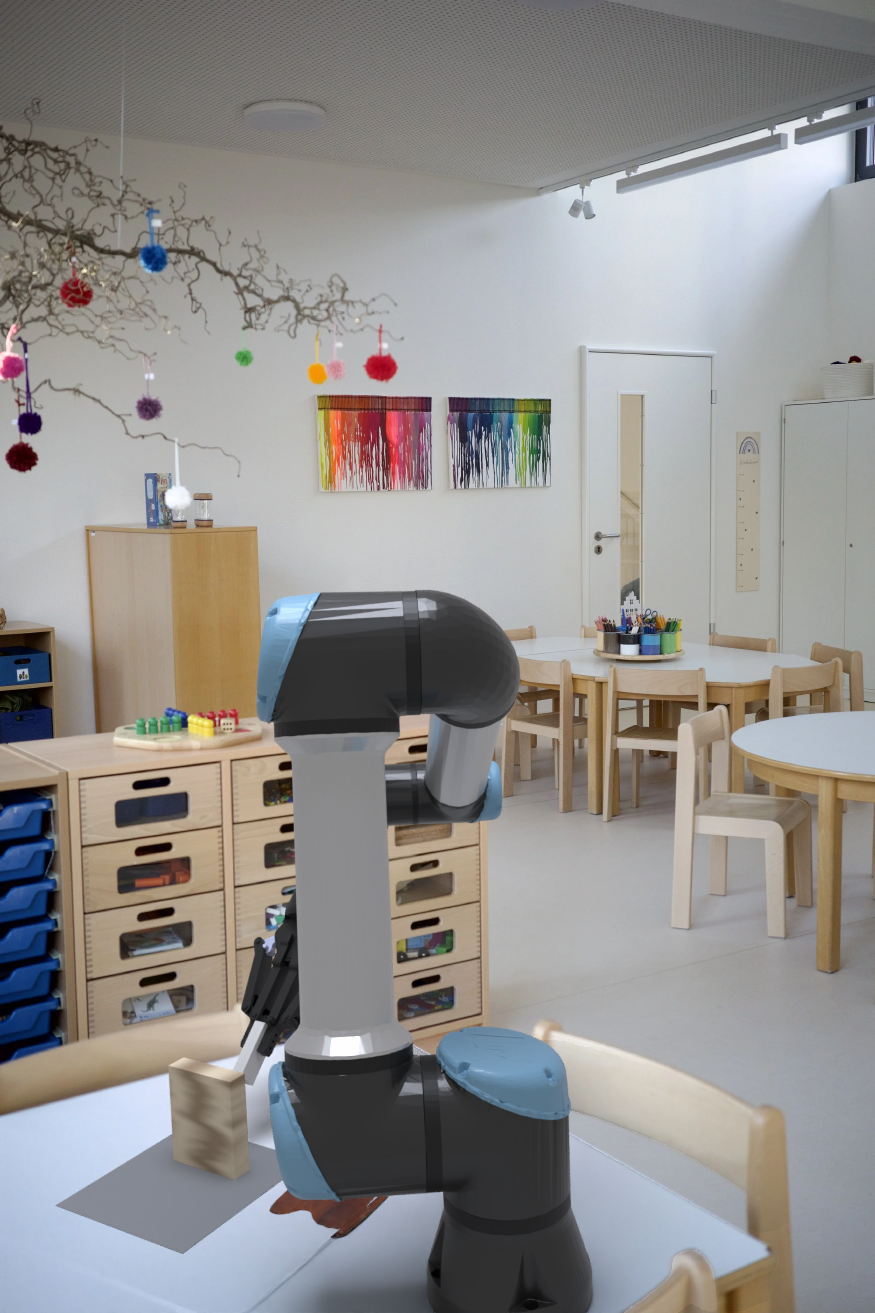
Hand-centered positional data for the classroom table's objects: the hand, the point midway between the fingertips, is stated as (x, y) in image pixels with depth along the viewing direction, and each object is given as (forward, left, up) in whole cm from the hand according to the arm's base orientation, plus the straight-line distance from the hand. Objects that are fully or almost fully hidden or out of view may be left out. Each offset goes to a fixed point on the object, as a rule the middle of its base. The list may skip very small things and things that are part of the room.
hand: (241, 1079), depth 137 cm
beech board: (0, +6, -7) cm, 9 cm away
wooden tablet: (-15, -3, -9) cm, 18 cm away
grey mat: (0, +10, -8) cm, 13 cm away
